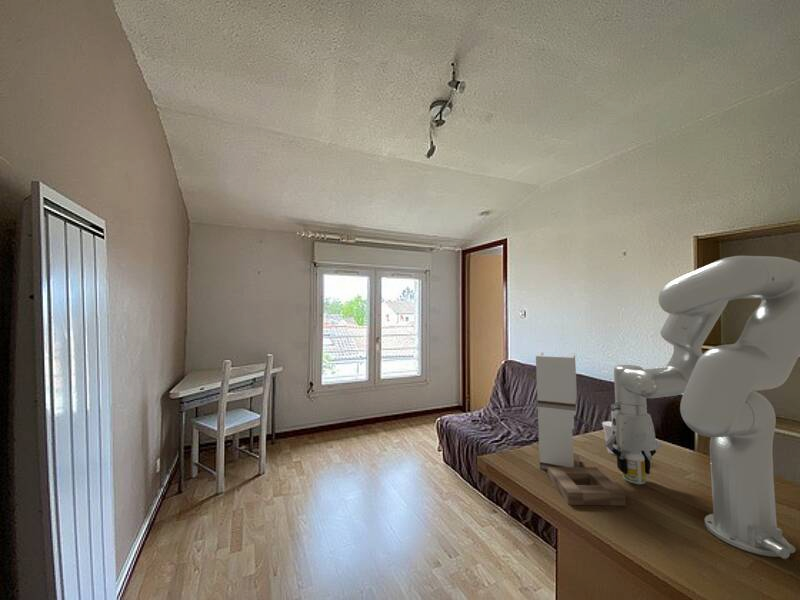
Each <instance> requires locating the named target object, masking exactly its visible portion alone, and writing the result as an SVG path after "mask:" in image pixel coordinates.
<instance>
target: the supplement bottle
mask: <svg viewBox="0 0 800 600" xmlns="http://www.w3.org/2000/svg"><path fill="white" fill-rule="evenodd" d="M625 459H626V460H627V474H624V473H623V472H622V478H623V479H624V480H625V481H627V482H629V483H632V484H634V485H644V484H646V483H647V482H646V481H647V480H646V473H645V459H644V456H643V455H642V454H641V451H626V455H625Z"/></svg>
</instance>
